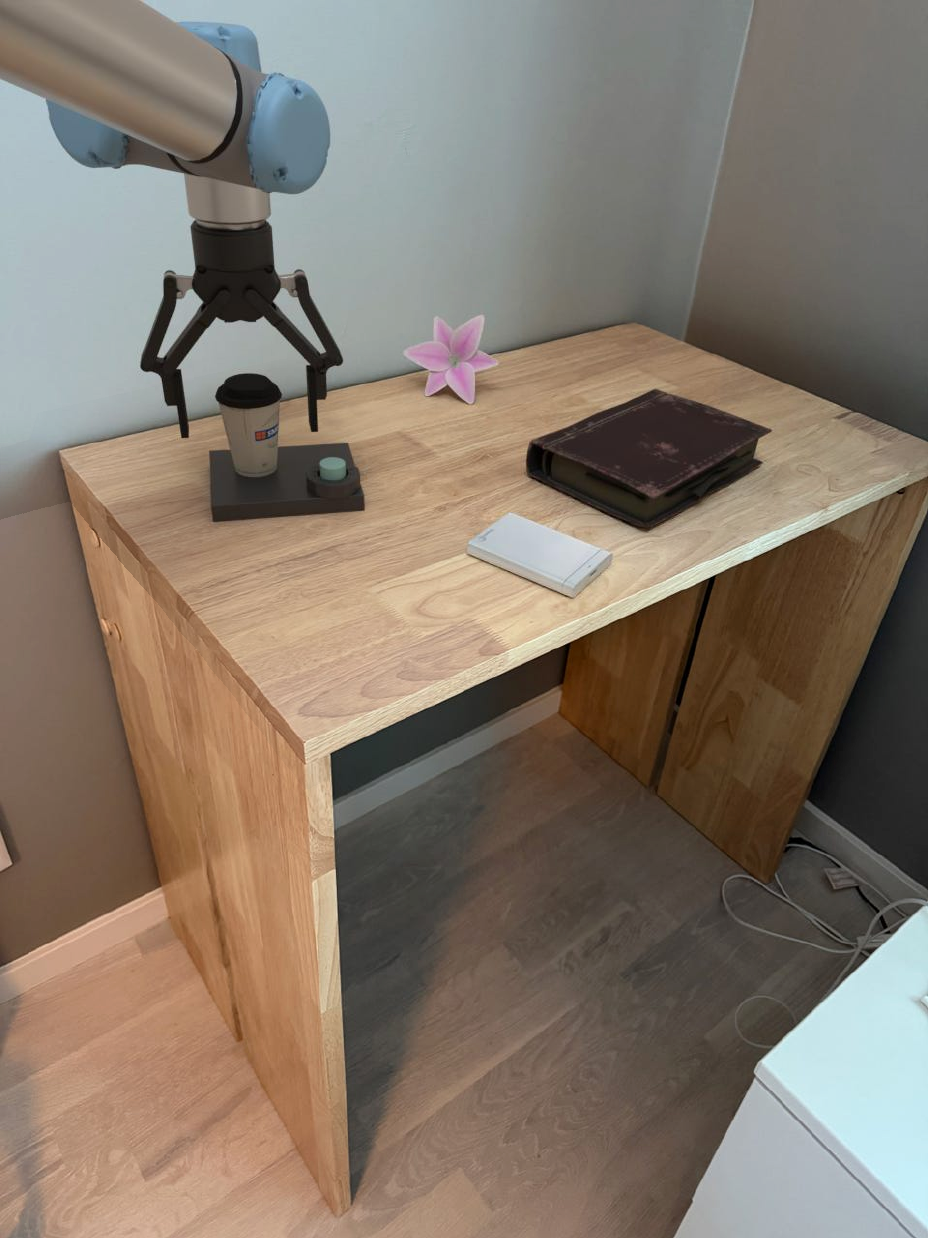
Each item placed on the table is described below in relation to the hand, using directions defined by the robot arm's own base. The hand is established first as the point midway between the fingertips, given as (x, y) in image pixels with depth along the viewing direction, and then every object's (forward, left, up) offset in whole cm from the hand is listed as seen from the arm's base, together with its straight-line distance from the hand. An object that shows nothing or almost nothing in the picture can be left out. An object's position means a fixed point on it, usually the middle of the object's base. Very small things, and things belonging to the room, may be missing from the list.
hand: (250, 430), depth 95 cm
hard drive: (+27, -20, -7) cm, 35 cm away
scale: (+3, -1, -6) cm, 7 cm away
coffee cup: (0, 0, -5) cm, 5 cm away
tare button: (+8, -5, -3) cm, 10 cm away
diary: (+46, -4, -7) cm, 47 cm away
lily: (+28, +24, -7) cm, 37 cm away
